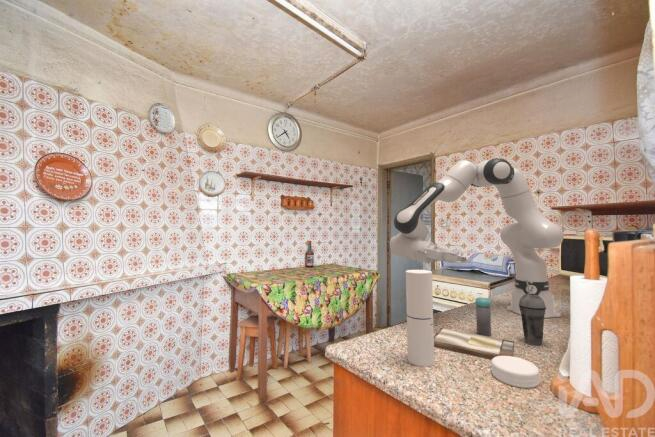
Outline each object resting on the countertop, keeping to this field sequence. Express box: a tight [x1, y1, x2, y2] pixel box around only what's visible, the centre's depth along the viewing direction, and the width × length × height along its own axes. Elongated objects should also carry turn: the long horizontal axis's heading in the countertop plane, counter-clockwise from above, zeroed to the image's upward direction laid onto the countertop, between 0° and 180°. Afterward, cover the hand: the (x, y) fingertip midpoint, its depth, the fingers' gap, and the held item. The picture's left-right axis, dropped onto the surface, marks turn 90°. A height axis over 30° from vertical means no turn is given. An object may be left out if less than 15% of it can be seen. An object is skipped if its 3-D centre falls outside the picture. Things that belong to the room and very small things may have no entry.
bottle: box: [475, 297, 492, 337], centre depth 100 cm, size 5×5×12 cm
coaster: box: [490, 356, 540, 389], centre depth 71 cm, size 10×10×4 cm
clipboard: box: [434, 327, 515, 361], centre depth 90 cm, size 15×22×2 cm
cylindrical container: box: [405, 269, 435, 368], centre depth 81 cm, size 7×7×25 cm
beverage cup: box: [519, 280, 546, 346], centre depth 92 cm, size 7×7×20 cm
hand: (462, 259), depth 106 cm, fingers open, 8 cm apart
